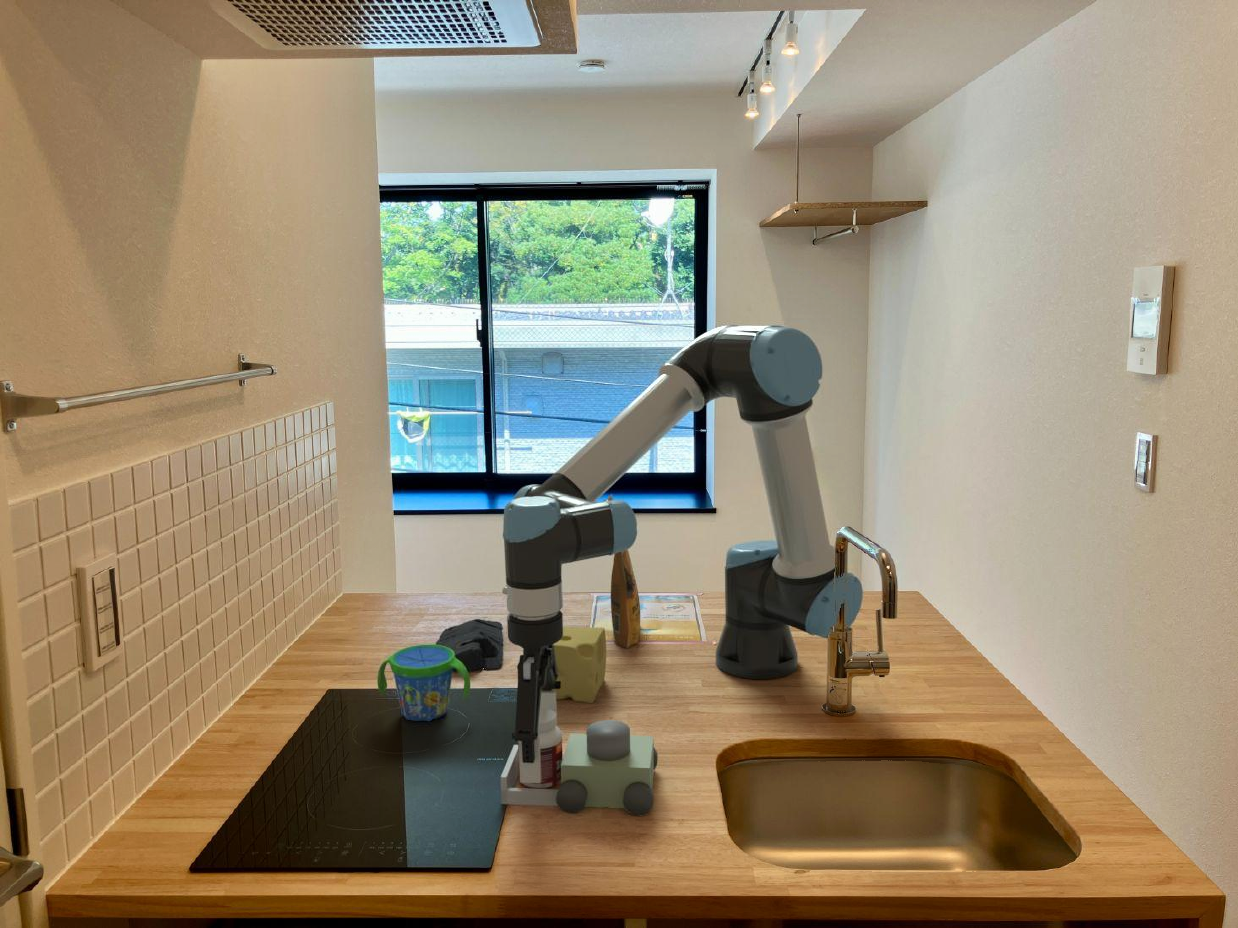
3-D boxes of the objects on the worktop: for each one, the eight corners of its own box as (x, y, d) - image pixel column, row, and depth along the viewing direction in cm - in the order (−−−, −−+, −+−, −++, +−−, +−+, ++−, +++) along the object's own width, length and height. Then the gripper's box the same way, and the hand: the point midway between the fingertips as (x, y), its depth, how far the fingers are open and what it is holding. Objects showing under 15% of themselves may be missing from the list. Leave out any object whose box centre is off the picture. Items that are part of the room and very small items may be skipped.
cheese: (594, 704, 155) (593, 648, 153) (533, 699, 157) (531, 644, 156) (607, 679, 165) (606, 626, 163) (550, 675, 167) (548, 623, 166)
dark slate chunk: (514, 631, 191) (513, 610, 190) (500, 674, 169) (499, 650, 168) (440, 632, 191) (439, 611, 190) (417, 676, 169) (416, 651, 168)
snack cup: (482, 705, 155) (479, 648, 153) (452, 733, 145) (449, 673, 144) (400, 694, 160) (397, 639, 158) (367, 721, 150) (363, 662, 148)
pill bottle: (566, 797, 127) (565, 722, 125) (522, 802, 125) (519, 727, 123) (559, 774, 132) (557, 703, 130) (517, 779, 131) (514, 708, 129)
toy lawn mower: (657, 768, 134) (657, 711, 132) (653, 816, 121) (652, 753, 120) (517, 764, 135) (515, 707, 134) (499, 810, 123) (496, 748, 122)
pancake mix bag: (604, 651, 178) (602, 511, 173) (609, 617, 197) (607, 490, 192) (639, 651, 178) (638, 511, 173) (641, 617, 196) (640, 489, 191)
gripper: (524, 582, 137) (529, 715, 141) (486, 645, 112) (493, 803, 116) (574, 583, 136) (578, 716, 140) (546, 646, 112) (551, 805, 116)
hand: (539, 756), depth 128 cm, fingers open, 13 cm apart
